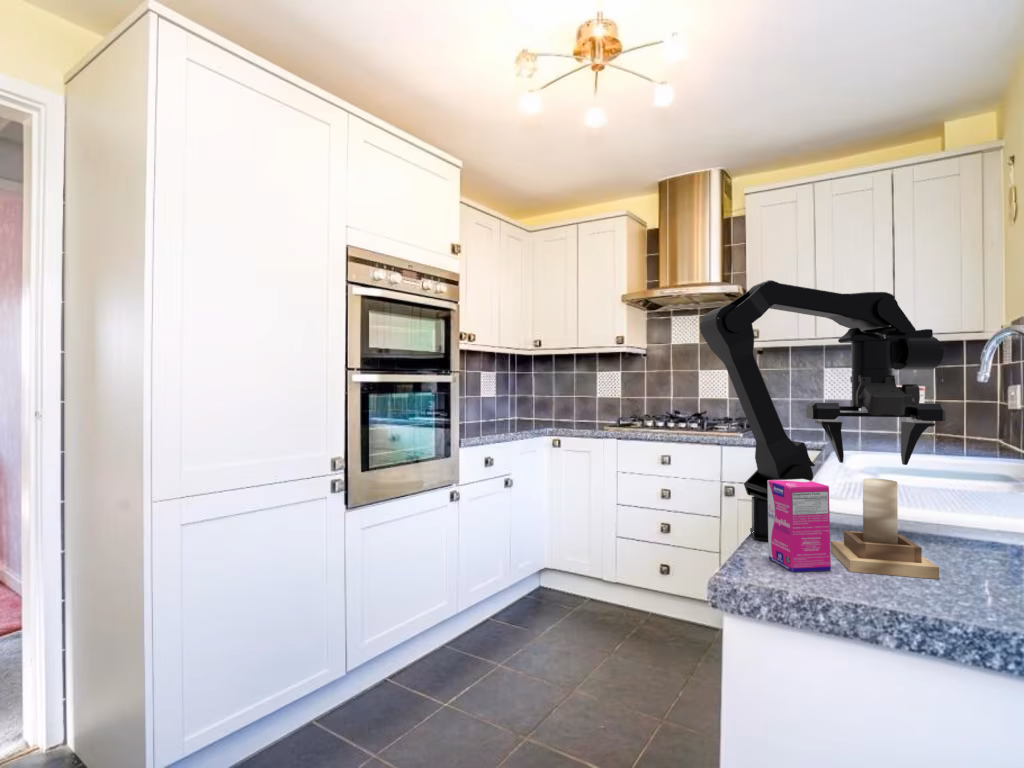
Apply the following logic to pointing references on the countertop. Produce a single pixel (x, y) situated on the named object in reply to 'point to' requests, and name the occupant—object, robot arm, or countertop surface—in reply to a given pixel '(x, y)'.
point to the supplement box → (799, 525)
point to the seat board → (883, 557)
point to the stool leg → (880, 511)
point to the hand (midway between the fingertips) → (872, 463)
